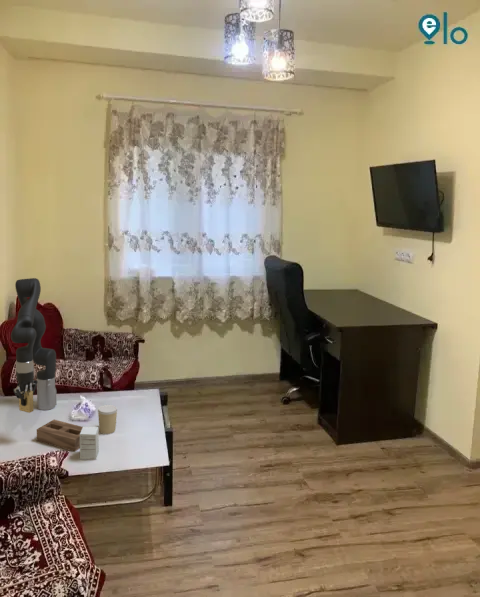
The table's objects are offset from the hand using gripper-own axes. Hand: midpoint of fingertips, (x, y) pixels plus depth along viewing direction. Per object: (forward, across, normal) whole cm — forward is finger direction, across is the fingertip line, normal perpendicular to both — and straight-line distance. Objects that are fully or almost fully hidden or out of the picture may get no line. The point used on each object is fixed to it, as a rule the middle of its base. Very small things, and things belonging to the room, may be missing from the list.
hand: (26, 404), depth 244 cm
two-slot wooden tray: (+19, -8, +15) cm, 25 cm away
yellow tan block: (+3, 0, 0) cm, 3 cm away
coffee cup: (+19, -26, +27) cm, 42 cm away
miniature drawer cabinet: (+19, -2, +34) cm, 39 cm away
